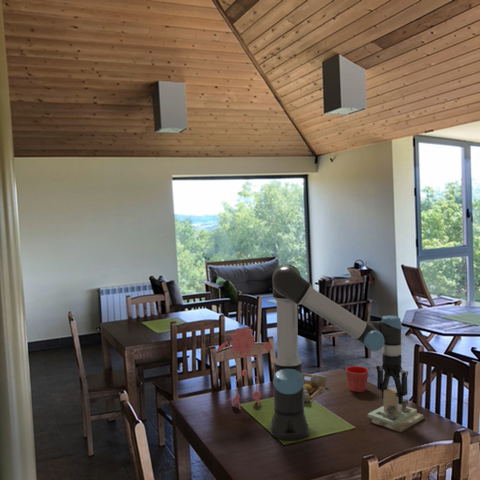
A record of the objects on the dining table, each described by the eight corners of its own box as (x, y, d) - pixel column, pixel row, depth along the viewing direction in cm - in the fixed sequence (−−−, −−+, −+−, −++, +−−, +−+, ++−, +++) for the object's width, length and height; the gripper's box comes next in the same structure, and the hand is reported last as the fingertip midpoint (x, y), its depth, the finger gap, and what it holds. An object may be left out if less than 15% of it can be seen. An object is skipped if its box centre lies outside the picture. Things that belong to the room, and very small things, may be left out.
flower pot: (371, 387, 241) (371, 367, 240) (364, 394, 231) (364, 374, 231) (350, 384, 246) (350, 364, 246) (343, 391, 237) (342, 371, 236)
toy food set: (293, 382, 253) (293, 367, 252) (327, 387, 244) (327, 372, 243) (272, 398, 231) (272, 382, 230) (309, 405, 222) (308, 388, 221)
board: (371, 422, 201) (371, 405, 200) (395, 409, 213) (394, 394, 212) (400, 432, 191) (400, 414, 191) (423, 418, 203) (423, 402, 203)
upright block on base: (367, 416, 202) (367, 392, 202) (390, 404, 214) (390, 381, 214) (393, 425, 193) (393, 400, 193) (416, 412, 205) (416, 388, 205)
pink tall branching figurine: (277, 403, 223) (274, 327, 222) (223, 413, 214) (219, 333, 213) (263, 393, 237) (261, 321, 236) (212, 402, 228) (209, 327, 227)
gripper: (416, 356, 198) (417, 412, 199) (377, 347, 212) (378, 400, 213) (407, 360, 193) (407, 418, 194) (367, 351, 207) (368, 405, 208)
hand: (392, 409), depth 204 cm, fingers closed on upright block on base, 5 cm apart
